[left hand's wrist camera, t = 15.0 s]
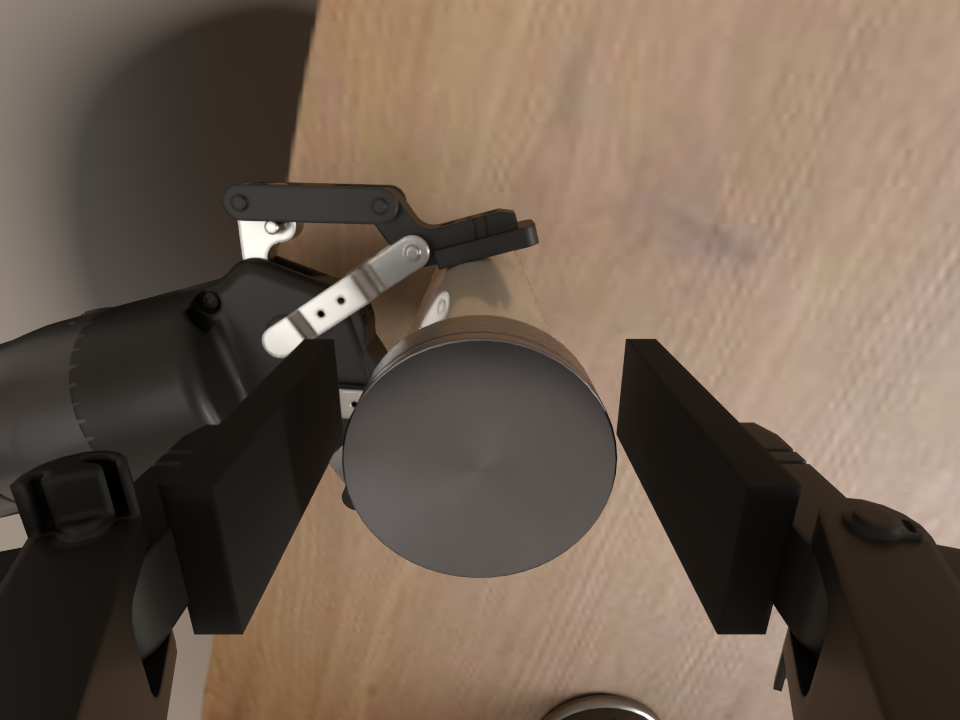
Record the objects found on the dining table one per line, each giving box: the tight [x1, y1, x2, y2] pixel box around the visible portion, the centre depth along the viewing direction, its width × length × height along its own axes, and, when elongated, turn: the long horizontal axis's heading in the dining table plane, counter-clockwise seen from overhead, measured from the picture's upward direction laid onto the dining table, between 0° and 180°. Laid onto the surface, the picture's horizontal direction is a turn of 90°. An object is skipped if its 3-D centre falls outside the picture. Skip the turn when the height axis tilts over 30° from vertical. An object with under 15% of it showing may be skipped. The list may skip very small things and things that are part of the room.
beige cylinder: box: [407, 251, 552, 336], centre depth 19 cm, size 4×4×17 cm
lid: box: [342, 315, 617, 578], centre depth 11 cm, size 5×5×2 cm
